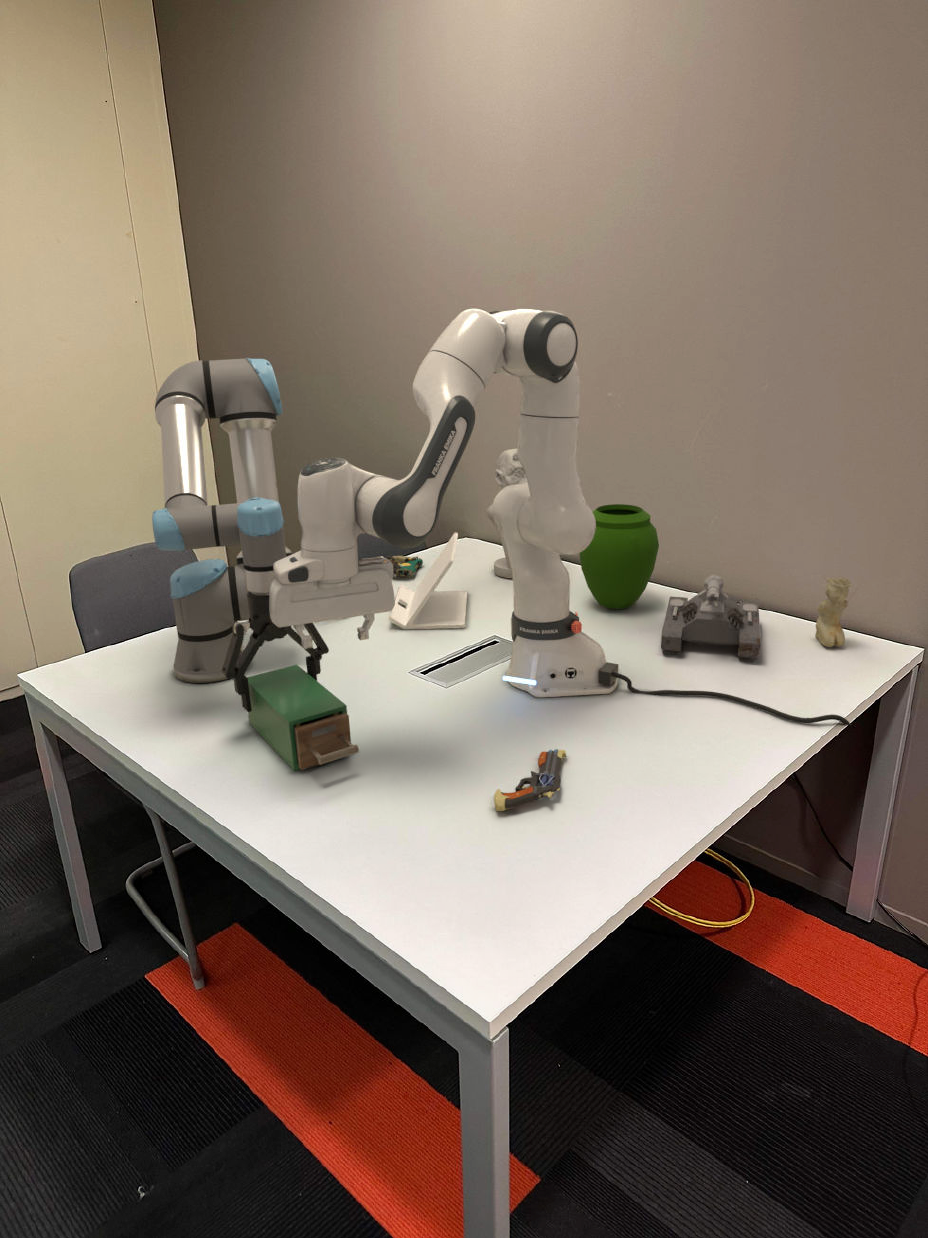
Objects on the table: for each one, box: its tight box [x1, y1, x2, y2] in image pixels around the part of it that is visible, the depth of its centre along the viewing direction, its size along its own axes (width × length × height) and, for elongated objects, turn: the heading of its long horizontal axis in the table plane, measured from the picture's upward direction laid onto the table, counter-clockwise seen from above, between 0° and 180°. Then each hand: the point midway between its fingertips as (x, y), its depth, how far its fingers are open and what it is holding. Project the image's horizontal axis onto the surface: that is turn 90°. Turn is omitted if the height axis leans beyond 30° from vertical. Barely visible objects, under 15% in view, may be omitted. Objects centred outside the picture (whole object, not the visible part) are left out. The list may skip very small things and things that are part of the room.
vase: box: [578, 503, 660, 610], centre depth 210 cm, size 20×20×24 cm
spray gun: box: [384, 554, 424, 578], centre depth 245 cm, size 4×17×15 cm
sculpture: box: [814, 576, 852, 648], centre depth 185 cm, size 6×7×15 cm
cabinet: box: [246, 664, 348, 772], centre depth 152 cm, size 22×10×9 cm, turn 33°
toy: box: [660, 574, 761, 660], centre depth 189 cm, size 25×20×15 cm
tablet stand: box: [388, 531, 468, 630], centre depth 211 cm, size 18×25×17 cm
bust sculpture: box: [485, 448, 528, 579], centre depth 231 cm, size 16×24×35 cm
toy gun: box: [493, 748, 567, 812], centre depth 136 cm, size 3×19×10 cm
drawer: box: [294, 712, 360, 771], centre depth 148 cm, size 26×9×7 cm, turn 33°
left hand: (281, 699), depth 157 cm, fingers open, 12 cm apart
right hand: (335, 643), depth 141 cm, fingers open, 8 cm apart
